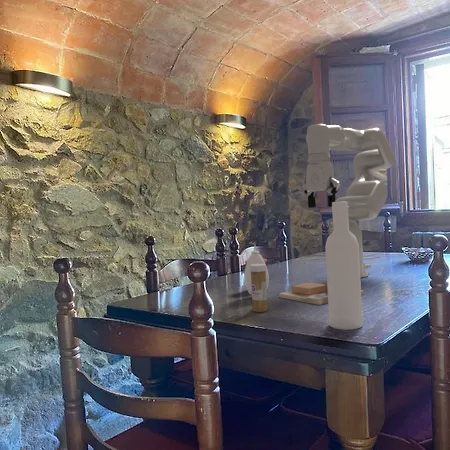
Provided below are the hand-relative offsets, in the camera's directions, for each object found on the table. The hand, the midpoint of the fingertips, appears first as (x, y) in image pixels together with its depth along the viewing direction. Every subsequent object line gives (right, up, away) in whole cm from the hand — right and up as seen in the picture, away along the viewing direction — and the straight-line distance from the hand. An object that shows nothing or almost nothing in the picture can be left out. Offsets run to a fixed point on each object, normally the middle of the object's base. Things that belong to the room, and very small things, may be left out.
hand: (321, 207), depth 163 cm
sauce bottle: (-24, -31, -14) cm, 41 cm away
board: (-4, -29, -17) cm, 34 cm away
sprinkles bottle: (-25, -31, -33) cm, 52 cm away
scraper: (-2, -28, -24) cm, 37 cm away
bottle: (-6, -31, -54) cm, 62 cm away
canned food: (-23, -30, -1) cm, 38 cm away
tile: (-4, -27, -14) cm, 30 cm away
